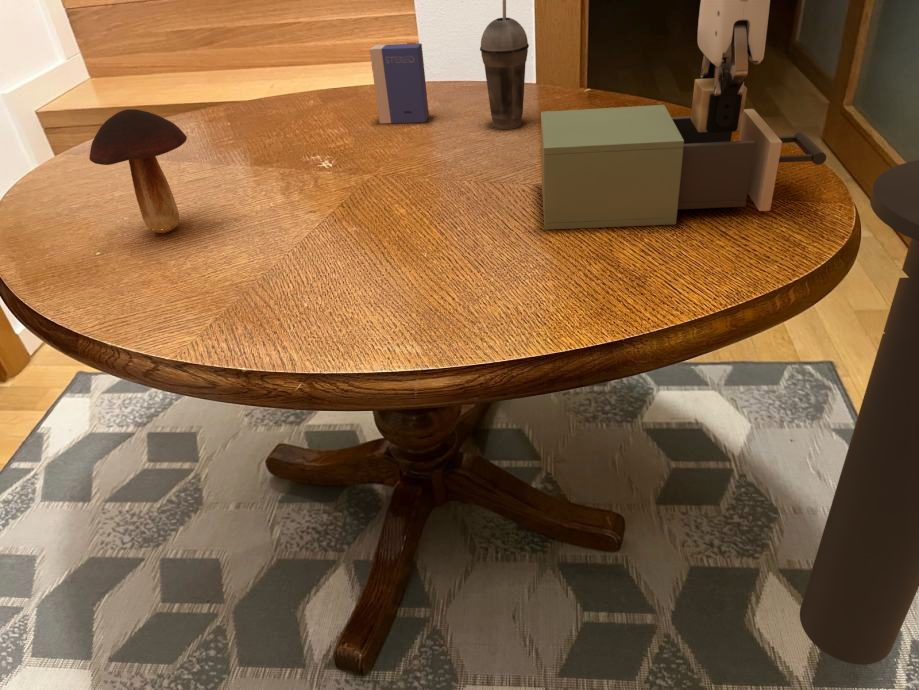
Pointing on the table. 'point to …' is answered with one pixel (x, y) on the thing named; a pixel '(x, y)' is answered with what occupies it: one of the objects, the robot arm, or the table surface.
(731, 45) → the robot arm
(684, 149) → the drawer
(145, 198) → the decorative mushroom
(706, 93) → the block
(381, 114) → the walkman
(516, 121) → the beverage cup
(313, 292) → the table surface
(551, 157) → the cabinet
